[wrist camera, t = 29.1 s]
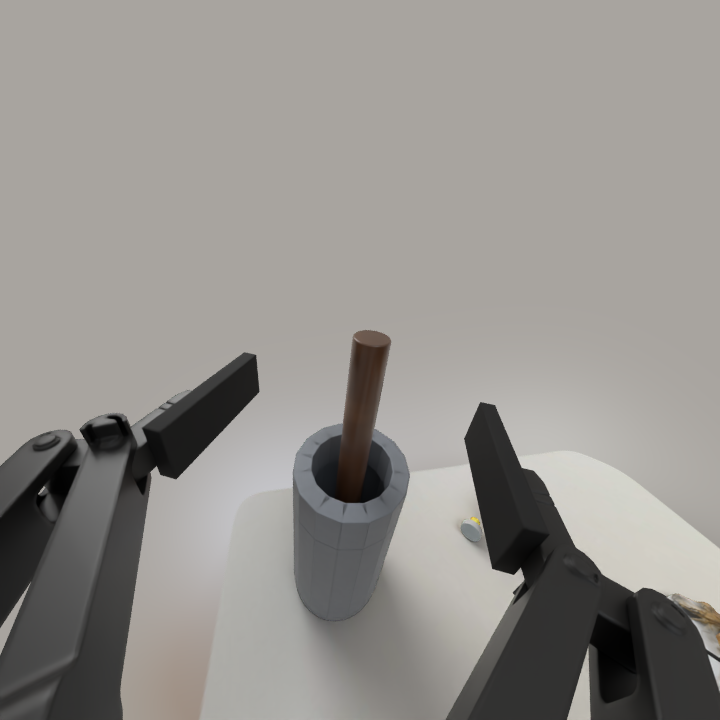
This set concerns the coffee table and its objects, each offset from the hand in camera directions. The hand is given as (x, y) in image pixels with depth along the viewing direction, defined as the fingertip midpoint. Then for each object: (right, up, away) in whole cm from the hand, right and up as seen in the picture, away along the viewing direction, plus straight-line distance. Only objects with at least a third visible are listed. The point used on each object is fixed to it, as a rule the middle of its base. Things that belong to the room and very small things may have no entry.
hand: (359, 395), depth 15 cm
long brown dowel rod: (-2, -18, +10) cm, 20 cm away
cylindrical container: (-2, -18, +10) cm, 21 cm away
